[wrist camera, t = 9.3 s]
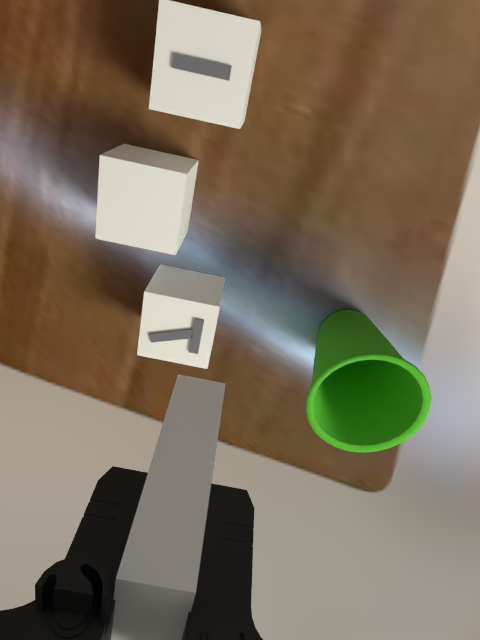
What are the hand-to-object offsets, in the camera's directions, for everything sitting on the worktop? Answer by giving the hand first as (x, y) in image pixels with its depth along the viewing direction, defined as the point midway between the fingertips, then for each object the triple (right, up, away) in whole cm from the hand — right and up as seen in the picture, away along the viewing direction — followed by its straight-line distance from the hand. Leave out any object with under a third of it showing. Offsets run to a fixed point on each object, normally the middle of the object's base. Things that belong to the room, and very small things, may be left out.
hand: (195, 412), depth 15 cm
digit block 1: (-1, +21, +19) cm, 28 cm away
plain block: (-5, +14, +23) cm, 27 cm away
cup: (+11, +2, +28) cm, 31 cm away
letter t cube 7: (-3, +5, +28) cm, 28 cm away
